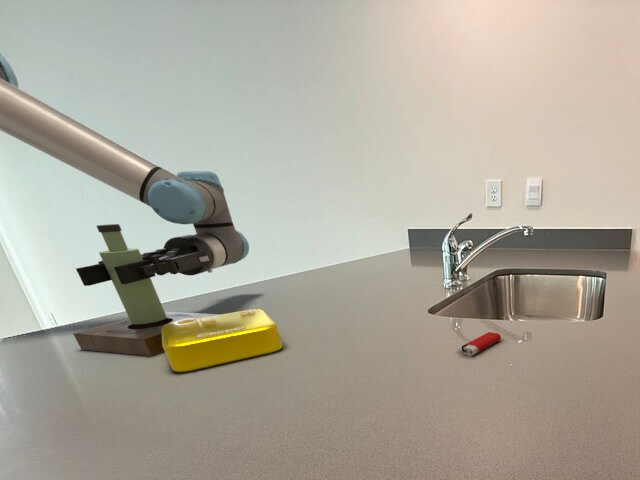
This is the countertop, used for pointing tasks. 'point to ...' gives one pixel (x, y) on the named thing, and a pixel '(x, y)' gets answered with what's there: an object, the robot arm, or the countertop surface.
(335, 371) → the countertop surface
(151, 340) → the hole board
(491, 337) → the lighter
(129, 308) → the bottle
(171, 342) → the element tile
